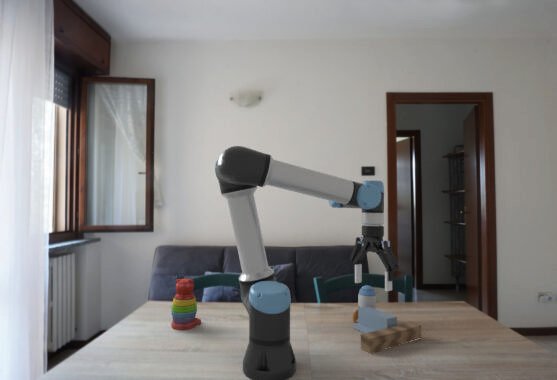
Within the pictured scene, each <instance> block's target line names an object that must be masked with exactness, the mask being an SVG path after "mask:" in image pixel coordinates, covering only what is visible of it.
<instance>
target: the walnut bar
mask: <svg viewBox="0 0 557 380" xmlns="http://www.w3.org/2000/svg"><path fill="white" fill-rule="evenodd" d="M418 338H421V339H422V325H421V324H418V323H415V322H412V321H410V322H406V323H402V324H397V326H393V327H389V328H385V329H381V330H377V331H373V332H369V333H361V334H360V350H361V349H362V350H361V351H363V350H364V352H365V351H366V353H367V352H368V354H369V353H371V354H374V353H373V352H375V353H377V352H376V351H378V352H380V351H379V350H382V349H385V348H389V347H392V348H394V347H393V346H396V345H399V344H402V343H406V342H409V341H411V340H415V339H418ZM406 344H407V343H406ZM399 346H400V345H399ZM396 347H397V346H396ZM389 349H390V348H389ZM385 350H386V349H385ZM382 351H383V350H382Z"/></svg>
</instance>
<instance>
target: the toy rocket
mask: <svg viewBox="0 0 557 380" xmlns="http://www.w3.org/2000/svg"><path fill="white" fill-rule="evenodd" d="M357 297H358V298H357V299H358V300H357V305H358V308H362V307H367V306H368V307H371V308H374V309H376V306H377V305H376V304H377V303H376V302H377V295H376V291H375V288H374V287H372V286H371V285H367V284H366V285H362V287H360V289H359V291H358V295H357ZM358 308H357V309H356V310H355V311H354V312H353V315H352V321H353V323H357V322H358V321H357V320H358Z"/></svg>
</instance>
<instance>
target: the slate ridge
mask: <svg viewBox="0 0 557 380" xmlns="http://www.w3.org/2000/svg"><path fill="white" fill-rule="evenodd" d="M357 309H358V319H357V320H358V321H357V322H355V323H353V326H352V327H353V329H354V328H355V329H354V330H356V329H357V331H358V330H360V331H359V332H361V331H362V332H361V333H363V332H364V333H363V334H365V333H369V332H373V331H377V330H381V329H385V328H389V327H393V326H398V316H396V315H393V314H390V313H387V312H385V311H383V310H380V309H377V308H375V309H374V308H371V307H368V306H367V307H362V308H359V307H357Z"/></svg>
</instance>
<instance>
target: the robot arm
mask: <svg viewBox="0 0 557 380" xmlns="http://www.w3.org/2000/svg"><path fill="white" fill-rule="evenodd" d="M214 171H215V176H216V178H217V180H218V184H219V191H220V194H221V196H222V197H223V198H225V199H226V200H227V204H228V208H229V215H230V219H231V224H232V229H233V234H234V238H235V244H236V248H237V253H238V257H239V263H240V269H241V274H240V276H238V283H239V286H240V298H241V303H242V304H243V306H244V308H245V310H246V311H247V314H248V324H249V328H248V329H249V331H248V333H249V334H248V335H249V336H248V344H247V346H246V350H245V352H244V355H243V360H242V372H243V374H244V375H245V376H246V377H247V378H250V379H251V380H287V379H288V378H291V377H292V376H293V375H294V374H295V373H296V372H297V359H296V355H295V352H294V350H293V347H292V343H291V303H292V297H291V291H290V289H289V287H288V286H287V285H286V284H285V283H282V282H279V281H277V279H276V275H275V274H276V273H275V270H274V269H273V268H271V267H270V266H269V263H268V259H267V252H266V249H265V244H264V238H263V233H262V229H261V223H260V220H259V215H258V214H259V213H258V210H257V205H256V199H255V195H254V194H255V192H256V191H257V189H258V187H260V188H264V187H265V186H271V187H274V188H277V189H282V190H286V191H291V192H294V193H299V194H302V195H306V196H311V197H314V198H318V199H322V200H327V201H328V203H329V206H330V207H331V208H335V209H337V208H338V209H361V224H362V226H361V236H360V237H359V236H358V237H356V238H355V243H354V246H353V249H352V252H351V253H350V257H349V259H348V261H349V262H350V263H352V264H353V273H354V283H355V284H360V283H362V281H363V280H362V279H363V276H362V275H363V272H362V271H363V269H362V267H363V266H362V265H363V264H362V261H363V259H364V258H365V257H366V255H367V253H369V252H371V253H375V254H377V256H378V257H379V259H380V260H381V262H382V264H383V266H384V268H385V271H384V292H390V291H393V282H394V281H395V280H394V279H395V277H394V276H395V271H398V270H400V266H399V263H398V260H397V257H396V256H395V253H394V250H393V247H392V241H391V240H384V237H385V227H384V224H385V187H384V186H385V185H384V182H383V181H381V180H363V181H362V182H361V183H360V182H357V181H352V180H351V179H346V178H343V177H339V176H335V175H331V174H328V173H325V172H320V171H316V170H313V169H310V168H306V167H302V166H298V165H295V164H291V163H289V162H284V161H281V160H277V159H274V158H273V157H272V155H271V154H269V153H268V154H267V153H264V152H261V151H257V150H255V149H252V148H249V147H246V146H241V145H234V146H230V147H228V148H226V149H225V150H223V152H222V153H221V154H220V156H219V157H217V160H216V162H215V167H214ZM362 236H363V237H362Z"/></svg>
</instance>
